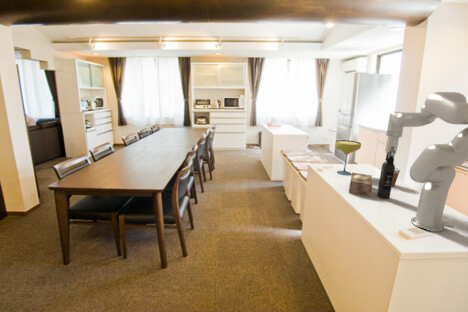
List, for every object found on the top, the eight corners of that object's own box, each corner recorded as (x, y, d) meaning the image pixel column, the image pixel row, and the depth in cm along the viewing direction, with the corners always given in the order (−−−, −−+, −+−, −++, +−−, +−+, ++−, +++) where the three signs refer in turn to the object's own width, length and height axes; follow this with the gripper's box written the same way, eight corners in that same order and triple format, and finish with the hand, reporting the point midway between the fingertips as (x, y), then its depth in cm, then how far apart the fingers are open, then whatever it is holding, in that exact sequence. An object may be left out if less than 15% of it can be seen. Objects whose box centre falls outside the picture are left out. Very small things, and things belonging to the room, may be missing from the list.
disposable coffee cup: (394, 183, 176) (397, 167, 173) (399, 188, 167) (402, 171, 164) (379, 182, 179) (382, 166, 176) (383, 186, 170) (386, 169, 167)
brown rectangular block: (369, 186, 170) (371, 174, 167) (370, 196, 152) (372, 184, 150) (350, 183, 175) (352, 172, 173) (348, 193, 158) (350, 180, 156)
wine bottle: (389, 199, 149) (398, 151, 141) (379, 198, 150) (387, 150, 142) (386, 196, 154) (394, 148, 147) (376, 195, 155) (384, 148, 148)
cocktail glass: (360, 177, 188) (365, 144, 182) (336, 176, 189) (340, 144, 183) (350, 169, 206) (354, 140, 200) (328, 169, 206) (332, 139, 200)
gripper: (385, 131, 151) (381, 158, 155) (387, 135, 136) (382, 165, 141) (400, 132, 148) (395, 160, 152) (404, 136, 133) (398, 167, 137)
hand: (389, 162), depth 146 cm, fingers open, 8 cm apart
